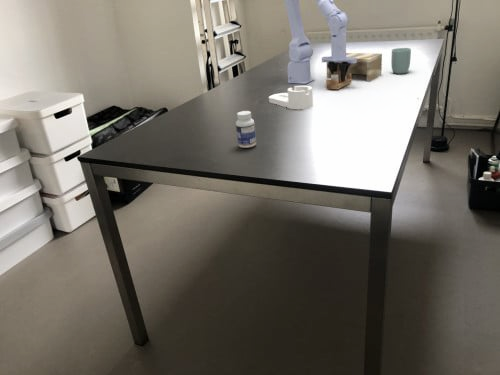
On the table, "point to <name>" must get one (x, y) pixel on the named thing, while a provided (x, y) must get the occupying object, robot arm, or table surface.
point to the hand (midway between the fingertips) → (339, 80)
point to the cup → (400, 60)
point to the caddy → (337, 80)
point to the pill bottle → (245, 129)
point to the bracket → (294, 98)
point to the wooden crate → (363, 65)
